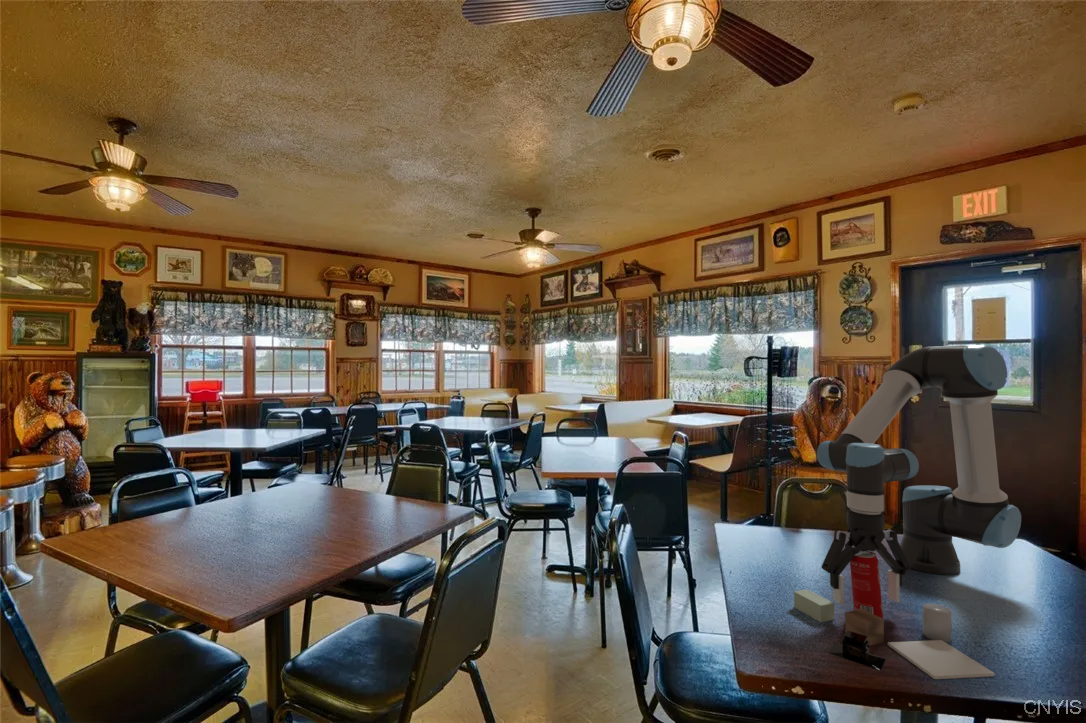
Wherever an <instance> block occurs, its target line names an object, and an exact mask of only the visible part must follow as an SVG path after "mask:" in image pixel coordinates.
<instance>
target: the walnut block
mask: <svg viewBox="0 0 1086 723" xmlns="http://www.w3.org/2000/svg"><path fill="white" fill-rule="evenodd" d="M844 619H845V620H844V621H845V624H844V625H845V629H844V630H845V633H846V632H847V630H848V631H851V632H855V633H858V634H861V635H865V636H867V641H869V645H870V647H871V646H875V645H879V644H883V643H884V642H885V639H884V638H885V630H884V629H885V628H884V627H885V626H884V624H885V623H884V622H885V621H884V618H883V619H882V618H880V617H878V616H876V615H874V614H872V613H870V612H868V611H866V610H864V609H860V610H855V611H854V610H850V611H846V612H845V614H844ZM845 633H844V634H845Z"/></svg>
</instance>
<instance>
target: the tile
mask: <svg viewBox="0 0 1086 723" xmlns="http://www.w3.org/2000/svg"><path fill="white" fill-rule="evenodd" d="M887 646H889V648H891V649H893V650H894V651H895V652H896V653H897V654H899V655H901V656H902V657H903V658H904V659H906V660H907V661H908V662H910V663H912V664H913V665H915V666H916V668H918V669H920V670H921V671H923V672H924V673H925V674H927V675H928V676H929V677H931V678H932V679H934V680H943V679H944V680H946V679H947V680H949V679H964V678H965V679H966V678H968V679H969V678H985V677H988V678H989V677H995V672H993V671H992V670H990V668H987V667H986V666H984V665H983V664H981V663H979V662H977V661H976V660H974V659H973V658H971V657H969V656H967V655H966V654H965V653H963V652H961V651H960V650H958V648H957V649H956V648H955V647H954V646H952V645H951V644H948V642H944V641H942V640H932V639H930V640H914V641H911V640H910V641H891V642H890V641H888V642H887Z"/></svg>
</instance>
